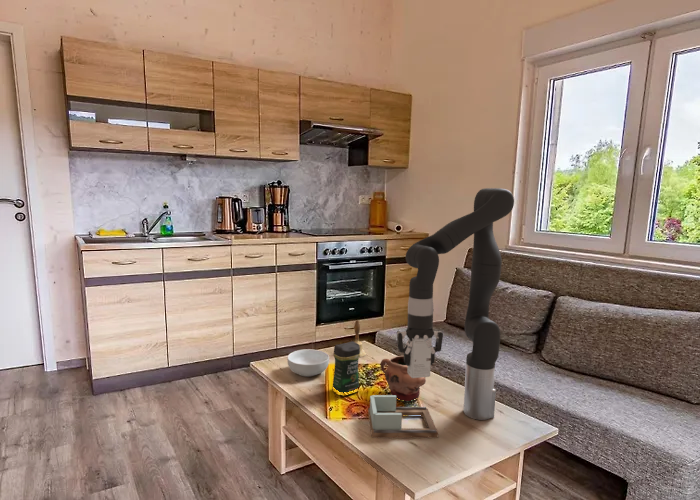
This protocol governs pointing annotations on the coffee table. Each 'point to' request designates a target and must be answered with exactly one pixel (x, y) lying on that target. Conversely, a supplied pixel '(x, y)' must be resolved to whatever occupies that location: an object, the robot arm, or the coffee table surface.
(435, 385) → the coffee table surface
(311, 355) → the cereal bowl
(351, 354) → the coffee jar
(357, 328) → the hand bell
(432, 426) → the board
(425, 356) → the skincare box
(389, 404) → the bracket
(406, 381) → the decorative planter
